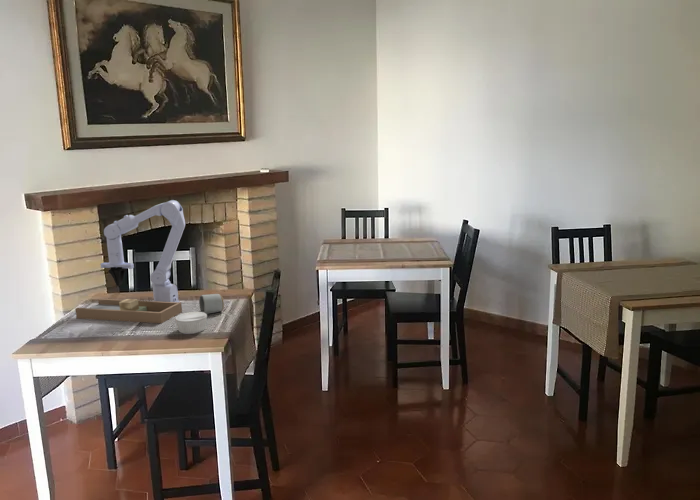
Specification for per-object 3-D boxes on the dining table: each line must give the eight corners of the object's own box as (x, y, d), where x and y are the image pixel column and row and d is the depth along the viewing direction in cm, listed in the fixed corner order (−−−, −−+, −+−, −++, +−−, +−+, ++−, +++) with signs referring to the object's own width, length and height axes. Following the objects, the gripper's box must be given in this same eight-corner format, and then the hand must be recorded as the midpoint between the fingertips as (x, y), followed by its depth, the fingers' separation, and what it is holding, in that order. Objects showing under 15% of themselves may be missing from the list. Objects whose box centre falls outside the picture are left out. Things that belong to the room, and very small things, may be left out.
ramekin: (191, 337, 203) (190, 322, 202) (169, 332, 209) (168, 318, 208) (214, 327, 212) (213, 313, 211) (193, 323, 218) (191, 310, 217)
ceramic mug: (225, 312, 230) (223, 294, 228) (205, 316, 225) (203, 297, 224) (216, 307, 239) (215, 289, 237) (197, 310, 234) (195, 292, 233)
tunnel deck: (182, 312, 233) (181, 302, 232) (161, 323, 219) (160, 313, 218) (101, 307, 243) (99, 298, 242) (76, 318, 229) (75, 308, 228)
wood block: (139, 309, 232) (138, 299, 231) (131, 312, 227) (130, 302, 226) (128, 308, 233) (127, 298, 233) (120, 312, 229) (119, 302, 228)
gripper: (94, 254, 237) (97, 286, 240) (124, 255, 233) (128, 288, 236) (105, 251, 244) (109, 282, 246) (135, 251, 240) (138, 283, 242)
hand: (119, 285), depth 241 cm, fingers closed
